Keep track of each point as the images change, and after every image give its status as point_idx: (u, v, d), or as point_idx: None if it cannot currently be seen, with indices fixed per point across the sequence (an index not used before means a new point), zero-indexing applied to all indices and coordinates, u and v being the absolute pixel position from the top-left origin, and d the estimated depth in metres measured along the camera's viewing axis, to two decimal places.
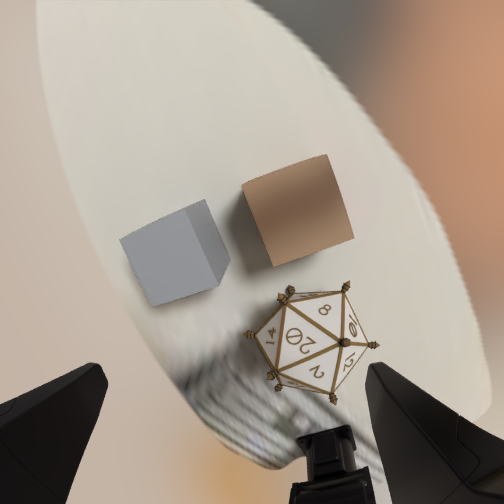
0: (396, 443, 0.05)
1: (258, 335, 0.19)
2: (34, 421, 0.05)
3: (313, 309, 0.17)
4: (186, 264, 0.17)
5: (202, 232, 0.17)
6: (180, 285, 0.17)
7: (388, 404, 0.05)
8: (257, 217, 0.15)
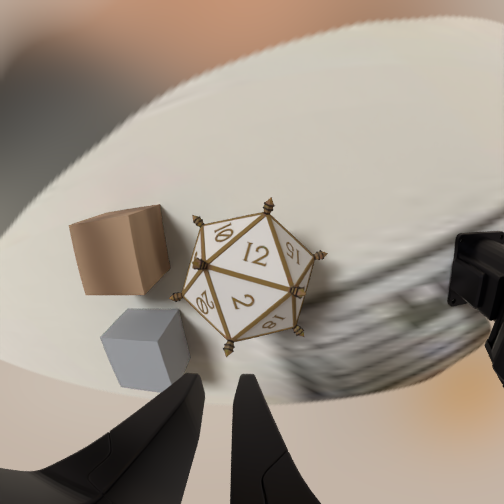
0: None
1: None
2: (144, 460, 0.04)
3: (191, 271, 0.16)
4: (138, 355, 0.18)
5: (127, 329, 0.19)
6: (155, 367, 0.18)
7: None
8: (106, 292, 0.17)
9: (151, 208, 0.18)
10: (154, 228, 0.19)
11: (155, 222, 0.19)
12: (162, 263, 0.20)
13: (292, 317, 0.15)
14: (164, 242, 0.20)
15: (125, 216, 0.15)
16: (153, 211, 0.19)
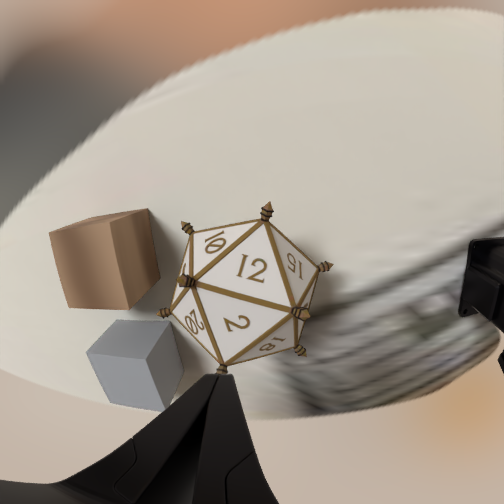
0: None
1: None
2: (170, 465, 0.04)
3: None
4: (126, 372, 0.16)
5: (114, 344, 0.17)
6: (144, 385, 0.16)
7: None
8: (89, 305, 0.15)
9: (137, 213, 0.16)
10: (141, 235, 0.17)
11: (142, 228, 0.17)
12: (150, 273, 0.18)
13: (293, 337, 0.13)
14: (153, 250, 0.18)
15: (106, 223, 0.13)
16: (140, 216, 0.17)
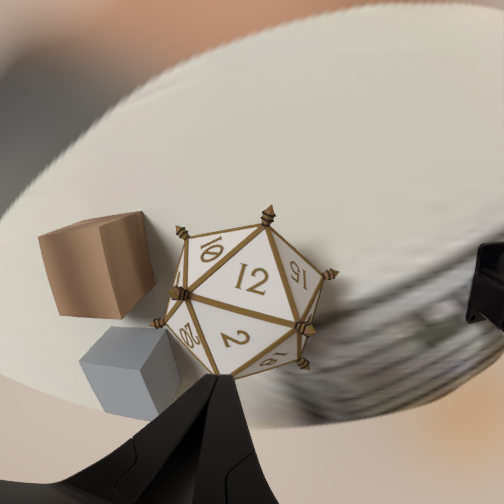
0: None
1: None
2: (170, 465, 0.04)
3: None
4: (120, 383, 0.15)
5: (108, 353, 0.16)
6: (139, 396, 0.15)
7: None
8: (80, 314, 0.14)
9: (130, 216, 0.15)
10: (134, 239, 0.16)
11: (135, 232, 0.16)
12: (144, 279, 0.17)
13: (296, 351, 0.12)
14: (147, 255, 0.17)
15: (96, 227, 0.12)
16: (133, 219, 0.16)
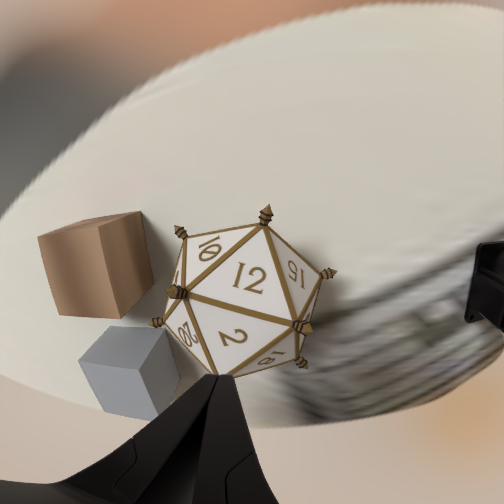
0: None
1: None
2: (170, 465, 0.04)
3: None
4: (120, 382, 0.15)
5: (107, 352, 0.16)
6: (138, 395, 0.15)
7: None
8: (79, 313, 0.14)
9: (129, 216, 0.15)
10: (133, 239, 0.16)
11: (134, 232, 0.16)
12: (143, 279, 0.17)
13: (294, 350, 0.12)
14: (146, 254, 0.17)
15: (95, 227, 0.12)
16: (132, 219, 0.16)
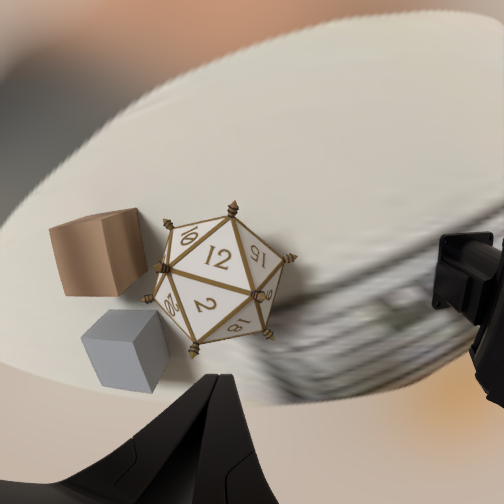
0: None
1: None
2: (170, 465, 0.04)
3: (160, 274, 0.15)
4: (116, 355, 0.18)
5: (106, 330, 0.19)
6: (132, 367, 0.18)
7: None
8: (83, 293, 0.17)
9: (126, 211, 0.18)
10: (130, 231, 0.19)
11: (131, 225, 0.19)
12: (138, 265, 0.20)
13: (259, 321, 0.15)
14: (141, 245, 0.20)
15: (98, 220, 0.15)
16: (129, 214, 0.18)
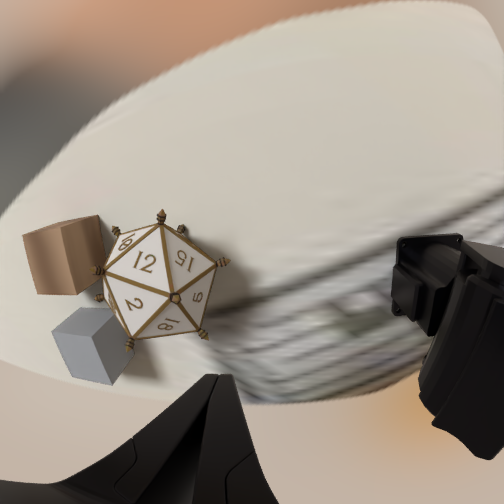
0: None
1: None
2: (170, 465, 0.04)
3: None
4: (80, 348, 0.19)
5: (73, 325, 0.20)
6: (93, 360, 0.19)
7: None
8: (51, 292, 0.17)
9: (87, 219, 0.19)
10: (90, 236, 0.19)
11: (91, 231, 0.19)
12: None
13: (189, 321, 0.16)
14: (102, 248, 0.21)
15: (58, 228, 0.16)
16: (89, 221, 0.19)
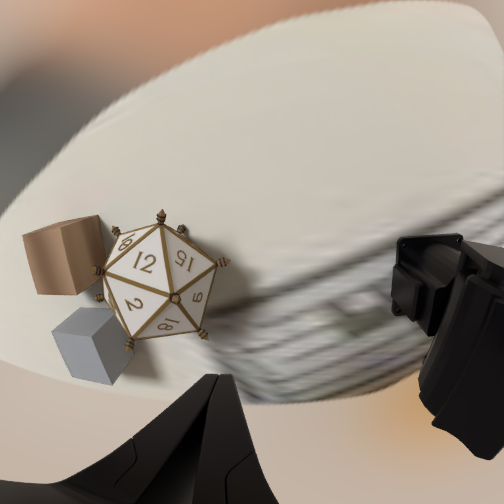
0: None
1: None
2: (170, 465, 0.04)
3: None
4: (80, 348, 0.19)
5: (73, 325, 0.20)
6: (93, 360, 0.19)
7: None
8: (51, 292, 0.17)
9: (87, 219, 0.19)
10: (90, 236, 0.19)
11: (91, 231, 0.19)
12: None
13: (189, 321, 0.16)
14: (102, 248, 0.21)
15: (58, 228, 0.16)
16: (89, 221, 0.19)
